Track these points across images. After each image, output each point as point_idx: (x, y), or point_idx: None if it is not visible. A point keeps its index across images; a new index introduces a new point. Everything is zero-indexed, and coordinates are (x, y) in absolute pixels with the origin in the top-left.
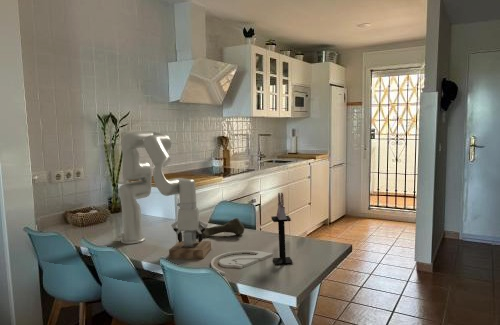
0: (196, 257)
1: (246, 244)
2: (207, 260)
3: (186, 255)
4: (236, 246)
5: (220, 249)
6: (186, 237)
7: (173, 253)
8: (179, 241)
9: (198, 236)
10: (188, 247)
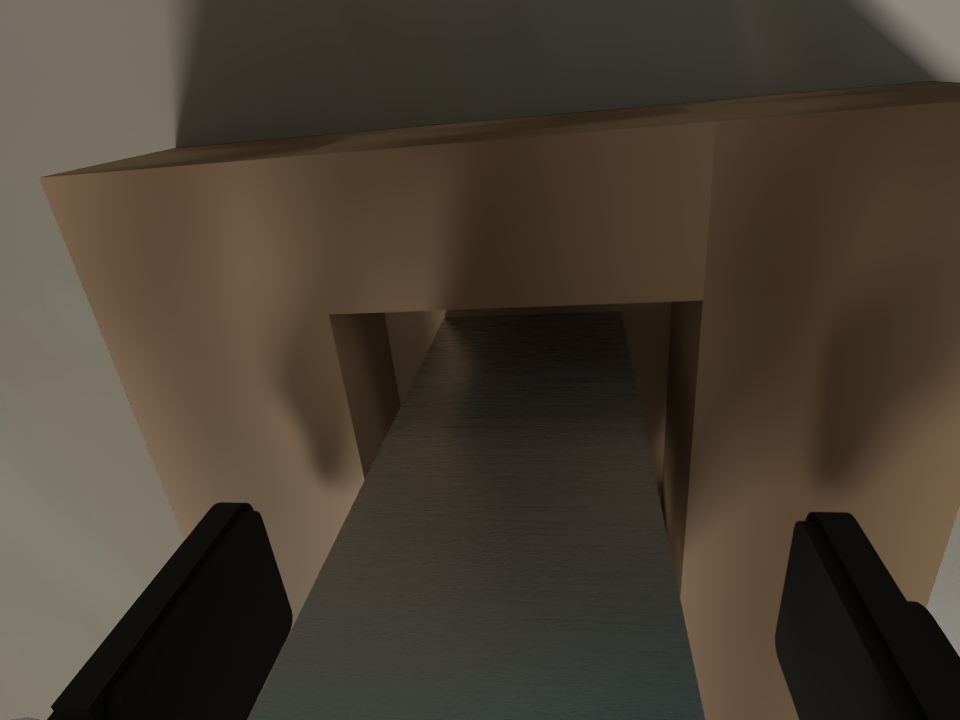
0: (290, 139)
1: (8, 710)
2: (46, 60)
3: (498, 125)
4: (65, 664)
5: None
6: (543, 568)
7: (867, 96)
8: (829, 525)
9: (151, 638)
10: (516, 375)
